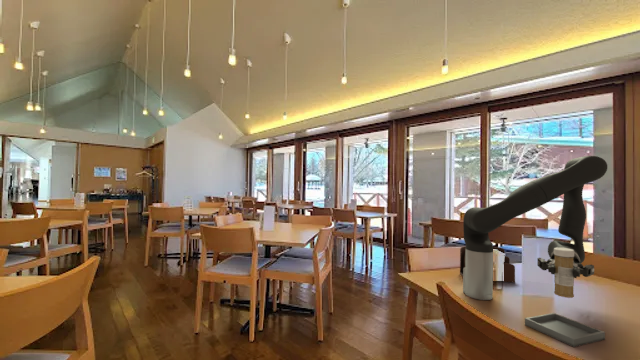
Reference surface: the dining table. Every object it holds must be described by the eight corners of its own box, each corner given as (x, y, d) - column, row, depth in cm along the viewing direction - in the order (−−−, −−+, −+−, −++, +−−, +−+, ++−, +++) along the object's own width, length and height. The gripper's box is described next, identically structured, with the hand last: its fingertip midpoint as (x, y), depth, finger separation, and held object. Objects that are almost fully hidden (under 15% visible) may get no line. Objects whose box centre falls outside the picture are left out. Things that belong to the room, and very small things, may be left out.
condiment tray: (524, 324, 90) (524, 318, 90) (554, 319, 94) (554, 312, 95) (573, 347, 78) (574, 339, 78) (604, 339, 82) (604, 332, 82)
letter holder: (459, 274, 142) (459, 244, 142) (503, 276, 140) (503, 246, 141) (468, 281, 132) (468, 248, 132) (515, 283, 130) (515, 250, 131)
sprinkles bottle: (554, 291, 90) (554, 246, 90) (575, 295, 86) (574, 248, 87) (553, 295, 86) (552, 248, 86) (573, 299, 83) (573, 251, 83)
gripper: (537, 246, 102) (532, 255, 89) (594, 252, 93) (598, 263, 80) (537, 268, 102) (532, 280, 89) (594, 276, 93) (598, 292, 80)
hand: (563, 272), depth 84 cm, fingers closed on sprinkles bottle, 4 cm apart
